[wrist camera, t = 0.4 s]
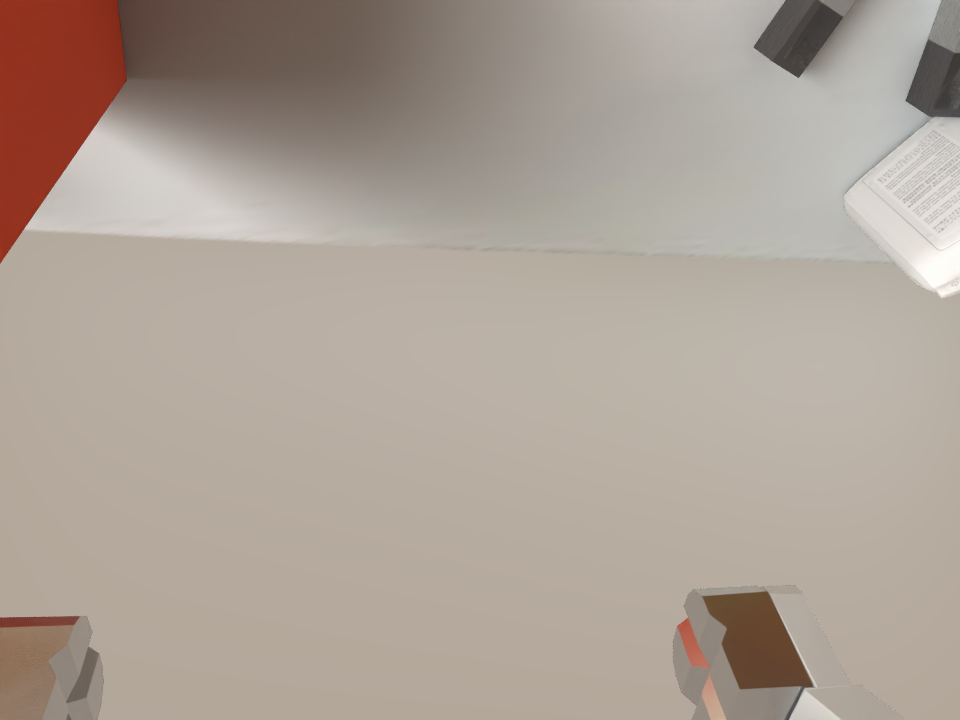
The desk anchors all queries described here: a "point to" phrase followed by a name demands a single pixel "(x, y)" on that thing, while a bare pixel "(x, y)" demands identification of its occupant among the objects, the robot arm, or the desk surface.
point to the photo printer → (916, 206)
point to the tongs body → (940, 66)
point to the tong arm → (800, 31)
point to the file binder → (50, 95)
